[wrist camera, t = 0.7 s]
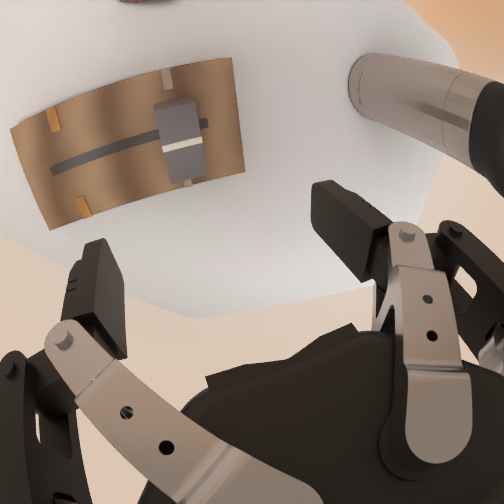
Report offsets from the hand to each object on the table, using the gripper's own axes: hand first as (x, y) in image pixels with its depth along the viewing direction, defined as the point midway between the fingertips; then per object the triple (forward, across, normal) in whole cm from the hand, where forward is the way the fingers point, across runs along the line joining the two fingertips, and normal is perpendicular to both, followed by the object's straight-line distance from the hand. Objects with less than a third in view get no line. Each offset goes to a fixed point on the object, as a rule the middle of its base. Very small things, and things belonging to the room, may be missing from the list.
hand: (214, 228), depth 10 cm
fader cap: (+17, 0, 0) cm, 17 cm away
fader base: (+20, +5, 0) cm, 21 cm away
